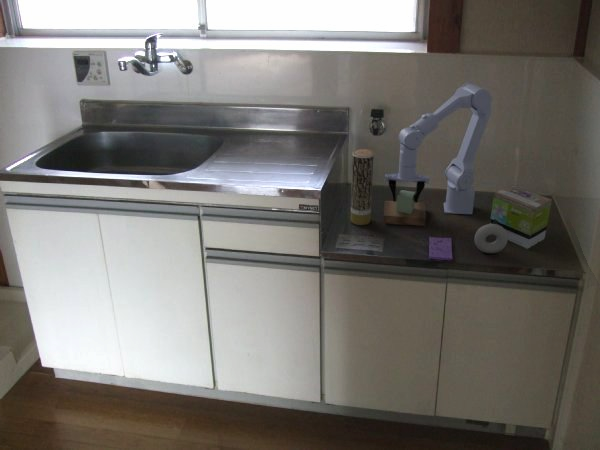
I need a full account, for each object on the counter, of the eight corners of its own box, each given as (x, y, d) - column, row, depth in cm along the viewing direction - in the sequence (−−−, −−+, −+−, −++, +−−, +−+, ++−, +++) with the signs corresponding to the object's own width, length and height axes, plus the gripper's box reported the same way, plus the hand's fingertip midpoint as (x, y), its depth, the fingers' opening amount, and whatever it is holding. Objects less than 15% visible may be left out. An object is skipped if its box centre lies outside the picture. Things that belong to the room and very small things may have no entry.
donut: (473, 254, 198) (476, 225, 194) (472, 249, 201) (475, 220, 197) (506, 256, 197) (510, 227, 192) (504, 250, 200) (509, 222, 195)
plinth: (424, 210, 226) (424, 202, 225) (425, 225, 216) (425, 217, 214) (384, 208, 228) (384, 200, 227) (383, 223, 217) (383, 215, 216)
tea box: (487, 233, 211) (493, 192, 204) (505, 223, 216) (511, 183, 210) (527, 250, 200) (535, 207, 194) (545, 239, 206) (553, 198, 199)
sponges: (451, 243, 206) (451, 238, 205) (452, 263, 195) (452, 257, 194) (428, 241, 207) (429, 236, 206) (428, 261, 196) (429, 255, 195)
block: (414, 208, 221) (415, 192, 218) (410, 214, 217) (412, 197, 214) (400, 205, 223) (401, 189, 220) (396, 211, 219) (397, 195, 216)
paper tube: (373, 219, 220) (376, 150, 209) (366, 227, 215) (369, 157, 203) (354, 215, 223) (356, 147, 211) (347, 223, 217) (349, 154, 206)
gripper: (429, 160, 215) (426, 197, 222) (386, 158, 217) (384, 195, 223) (430, 168, 209) (427, 205, 215) (385, 166, 211) (383, 203, 217)
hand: (405, 201), depth 219 cm, fingers open, 7 cm apart
